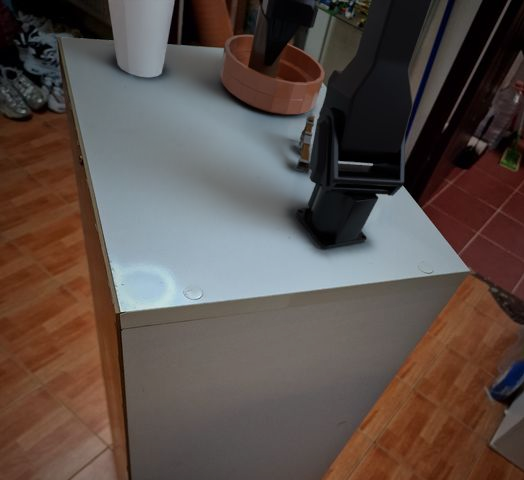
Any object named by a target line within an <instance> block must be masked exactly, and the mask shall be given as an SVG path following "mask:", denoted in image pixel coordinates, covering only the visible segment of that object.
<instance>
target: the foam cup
mask: <svg viewBox="0 0 524 480" xmlns="http://www.w3.org/2000/svg"><path fill="white" fill-rule="evenodd" d="M175 1H176V0H107V2H108V8H109V9H108V10H109V15H110V22H111V28H112V29H111V30H112V37H113V42H114V49H115V50H114V51H115V58H116V61H117V63H116V64H117V66H118V67H119V68H120V69H121V70H122V71H124V72H126V73H128V74H129V75H133V76H136V77H141V78H154V77H158V76H160V75H161V74H162V73H163V69H164V65H165V59H166V53H167V46H168V43H169V37H170V36H169V35H170V29H171V25H172V20H173V19H172V17H173V13H174V7H175Z"/></svg>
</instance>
